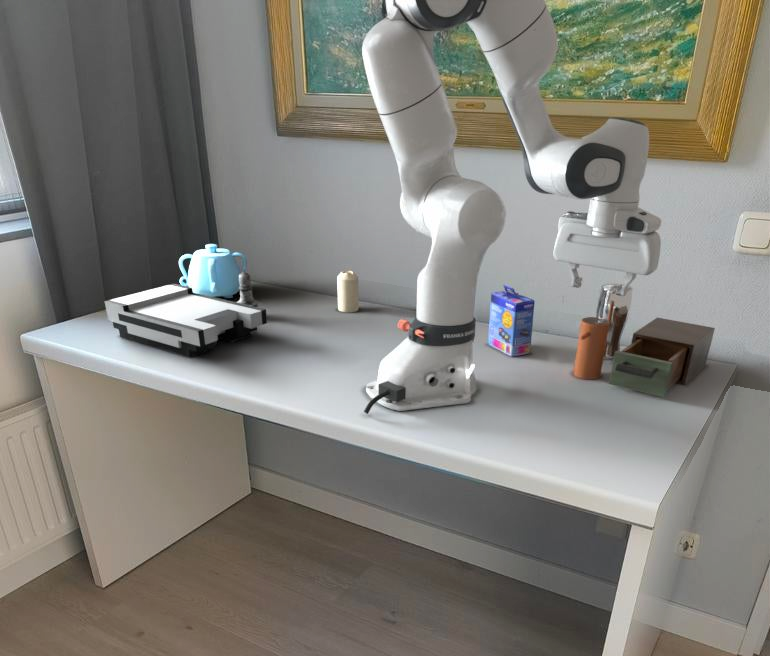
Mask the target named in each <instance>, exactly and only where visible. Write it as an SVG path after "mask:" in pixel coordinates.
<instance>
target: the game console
mask: <svg viewBox="0 0 770 656" xmlns="http://www.w3.org/2000/svg"><path fill="white" fill-rule="evenodd" d="M236 302H237V301H232V300H227V299H223V298H220V297H216V296H215V297H210V296H206V295H201V294H197V293H194V292H193V290H192V287H189V286H183V285H181V284H178V283H171V284H166V285H163V286H159V287H155V288H151V289H147V290H143V291H141V292H140V291H139V292H136V293H132V294H128V295H125V296H120V297H116V298H112V299H108V300H105V301H104V304H105V305H104V306H105V311H106V315H107V316H106V317H107V320H108V322H112V327H113V329H117V330H118V333H119V337H121V338H123V339H127V340H130V341H133V342H137V343H140V344H144V345H147V346H151V347H153V348H158V349H161V350H165V351H168V352H171V353H173V354H177V355H181V356H184V357H187V358H192V357H194V356H197V355H199V354H203V353H206V352H209V351H210V350H211V347H214V346H217V341H219V339H220V340H224V341H228V342H232V343H234V342H237V341H239V340H242V339H245V338H247V337H250V336H251V337H252V334H251V333H254V332H257V331H258V327H261V326H264V325H266V324H268V319H267V317H268V316H267V309H266V308H263V307H254V306H249V305H245V304H241V303H236Z"/></svg>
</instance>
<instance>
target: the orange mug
mask: <svg viewBox="0 0 770 656" xmlns="http://www.w3.org/2000/svg"><path fill="white" fill-rule="evenodd" d="M609 324H610V322H609V321H608V320H606V319H603V318H598V317H596V316H587V317H583V318H582V319H581V320H580V326H579V333H578V340H577V347H576V354H575V358H574V359H575V360H574V365H573V376H574V377H576V378H578V379H582V380H590V381H591V380H597V379H600V378H601V375H602V369H603V364H604V360H605V359H604V353H605V347H606V341H607V335H608V329H609Z"/></svg>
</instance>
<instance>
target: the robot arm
mask: <svg viewBox="0 0 770 656" xmlns="http://www.w3.org/2000/svg"><path fill="white" fill-rule="evenodd" d="M545 1H546V0H382V1H381V18H382V20H380V21H378V22H377V23H376V24H374V25H373V26H372V27H371V28H370V29H369V31H368V32H367V34H366V35H365V36H364V39H363V42H362V45H361V55H362V61H363V66H364V71H365V75H366V78H367V83H368V87H369V89H370V93H371V97H372V99H373V103H374V106H375V107H376V110H377V113H378V116H379V118H380V121H381V123H382V126H383V129H384V131H385V134H386V136H387V139H388V142H389V144H390V147H391V149H392V152H393V155H394V158H395V162H396V165H397V170H398V175H399V181H400V187H401V188H400V189H401V193H400V197H399V209H400V212H401V216H402V217H403V219H404V220H405V222H406V223H407V224H408V225H409V226H410V227H411V228H413V229H414V230H415V231H416V232H417V233H418V234H421V235H422V236H424V237H425V236H426V237H427V238H431V247H430V252H429V255H428V258H427V262H426V264H425V266H424V267H423V268H422V269H421V270H420V271H419V273H418V274H417V275H418V276H417V278H416V279H417V280H416V312H415V313H416V315H415V316H414V317H413V320H412V322H410V321H408V320H406V319H404V318H402V319H400V320H399V321H398V322H397V328H398V329H399V330H401V331H403V332H407V337H406V338H404V340H402V341H401V342H400V343H399V344H398V345H397V346H396V347H395V348H393V350H392V351H390V352H389V353H388V354H387V355H385V356H384V357H383V358H382V360H380V362H379V366H378V371H377V378H376V380H372V381H369V382H367V383H366V387H365V391H366V393H367V395H368V396H369V397H370V398H371V400H370V401H369V402H368V403H367V405H366V407H365V408H364V410H363V412H364V413H365V414H367V415H369V413H370V411H371V409H372V407H373V406H374V405H375V404H376V403H377V404H379V405H381V406H382V407H385V408H386V409H390V410H394V411H398V412H401V411H402V412H403V411H410V410H419V409H429V408H437V407H445V406H453V405H461V404H469V403H471V401H472V396H473V395H474V394H475V393H476V392H477V390H478V385H477V382H476V381H477V380H476V375H475V371H474V370H475V364H474V349H473V348H474V344H473V343H474V341H475V338H476V317H475V307H476V294H477V286H478V285H477V284H478V279H479V278H478V277H479V273H480V270H481V266H482V263H483V262H484V258H485V256H486V254H487V251H488V249H489V248H490V246H492V244H494V243H495V242H496V241H497V240H498V238H499V237H500V236H501V234H502V232H503V230H504V228H505V224H506V219H507V212H506V211H507V210H506V205H505V202H504V200H503V198H502V197H501V195H499V193H498V192H496V191H495V190H493V189H492V188H491V187H489V185H487V184H485V183H484V182H481V181H479V180H474V179H470V178H466V177H462V175H460V173H459V171H458V169H457V167H456V162H455V161H456V160H455V153H454V152H455V151H454V144H455V142H456V141H457V137H458V128H457V127H458V126H457V123H456V120H455V118H454V115H453V112H452V108H451V106H450V102H449V100H448V96H447V93H446V91H445V87H444V84H443V82H442V79H441V76H440V72H439V70H438V67H437V65H436V63H435V55H434V37H435V34H436V32H445V31H449V30H453V29H455V28H457V27H459V26H461V25H463V24H467V25H468V26H469V28H470V29H471V31H473V33H474V35H475V38H476V40H477V42H478V45H479V46H480V49H481V50H482V52H483V55H484V56H485V59H486V60H487V63H488V64H489V67H490V69H491V71H492V74H493V75H494V78H495V80H496V84H497V88H498V91H499V92H498V93H499V95H500V98H501V100H502V103H503V106H504V108H505V110H506V113H507V116H508V119H509V120H510V122H511V125H512V128H513V130H514V133H515V135H516V138H517V140H518V142H519V145H520V148H521V152H522V158H523V159H522V160H523V169H524V174H525V178H526V180H527V183H528V184H529V186H530V187H531V188H532V189H533V190H534V191H536V192H537V193H540V194H544V195H555V196H560V197H563V198H564V197H565V198H569V199H575V200H582V201H583V200H588V199H589V204H588V205H589V206H588V210H587V212H577V211H573V210H572V211H571V210H569V211H567V212H565V213H563V214H562V215H560V217H559V219H558V225H557V232H558V233H557V235H556V238H555V241H554V247H553V252H552V256H553V258H554V260H555V261H556V262H561V263H567V264H568V273H569V274H570V277H571V284H570V287H571V288H577V289H579V288H581V287H582V285H583V284H582V282H583V277H581V276H579V272H578V269H579V268H580V265H581V266H585V267H592V268H597V269H604V270H610V271H615V272H616V271H617V272H623V273H625V276H624V278H625V279H626V280H625V281H624V282H623V283H622V284H623V285H619V286H618V287H617V292H616V295H620V296H625V295H626V293H627V289H628V286H630V285H631V284H632V283H633V281H634V280H635V279H636V278H637V275H642V276H649V275H651V274H653V273H654V272H656V270H657V269H658V266H659V261H660V255H661V247H662V246H661V245H662V244H661V243H662V241H661V240H662V239H661V235H660V234H659V233H658V232H657V231H658V230H659V229H660V228H661V225H662V219H661V218H660V217H658V216H657V215H655V214H653V213H651V212H649V211H647V210H645V209H643V208H641V207H639V203H640V187H641V183H642V182H643V179H644V177H645V173H646V167H647V163H648V156H649V148H650V131H649V128H648V126H647V125H646V124H645V123H644V122H641V121H639V120H636V119H632V118H630V119H629V118H626V117H619V116H618V117H617V116H615V117H610V118H608V119H607V121H606V122H605V123H604V124H603V125H602V126H600V127H599V128H598V129H596V130H595V131H593V132H591V133H589V134H587V135H585V136H582V137H581V138H575V137H570V136H569V137H568V136H566V135H564V134H562V133H560V132H559V131H558V130H557V129H556V128H555V127H554V126H553V124H552V121H551V118H550V115H549V113H548V109H547V107H546V104H545V102H544V99H543V97H542V94H541V89H540V80H542V79H543V77H545V75H546V74H547V73H549V71H550V70H551V68H552V65H553V64H554V61H555V59H556V56H557V52H558V48H559V40H558V35H557V29H556V26H555V23H554V20H553V17H552V15H551V13H550V11H549V8H548V6H547V4H546V2H545Z"/></svg>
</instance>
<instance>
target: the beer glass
mask: <svg viewBox="0 0 770 656" xmlns="http://www.w3.org/2000/svg"><path fill="white" fill-rule="evenodd" d="M623 284H624V283H621V284H620V283H605V284H602V285H601V288H600V292H599V296H598V300H597V305H596V316H595V317H598V318H603V319H606V320H608V321H609V322H610V324H609V329H608V335H607V341H606V347H605V353H604V359H603V360H605V359H606V360H613V359H614V353H615V352H616V351H621V340H622V335H623V333H624V330H625V327H626V324H627V321H628V318H629V315H630V311H631V307H632V297H633V289H634V288H633V287H632V286H630V285H629V286H628V289H627V293H626V295H625V296H620V295H616V292H617V287H618V286H619V285H623Z"/></svg>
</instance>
